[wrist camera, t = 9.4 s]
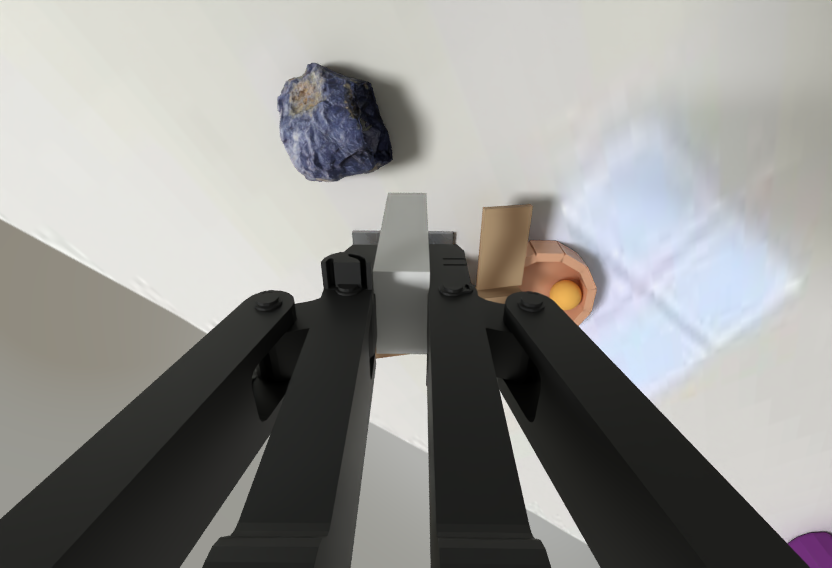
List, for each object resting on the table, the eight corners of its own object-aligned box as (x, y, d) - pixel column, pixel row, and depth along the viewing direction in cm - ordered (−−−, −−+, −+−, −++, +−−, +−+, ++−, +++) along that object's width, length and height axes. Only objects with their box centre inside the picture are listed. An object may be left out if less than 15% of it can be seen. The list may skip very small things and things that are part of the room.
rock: (416, 159, 44) (354, 179, 36) (341, 178, 50) (275, 200, 42) (385, 43, 41) (311, 39, 33) (310, 79, 47) (232, 82, 39)
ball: (547, 275, 52) (558, 290, 49) (576, 274, 53) (589, 289, 50) (543, 300, 54) (553, 316, 51) (571, 299, 55) (583, 315, 51)
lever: (353, 338, 50) (356, 362, 46) (342, 210, 42) (346, 226, 38) (507, 320, 53) (521, 341, 49) (523, 198, 45) (541, 212, 42)
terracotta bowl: (491, 239, 51) (495, 252, 48) (594, 240, 51) (605, 253, 48) (482, 325, 57) (486, 341, 54) (575, 325, 57) (583, 342, 54)
